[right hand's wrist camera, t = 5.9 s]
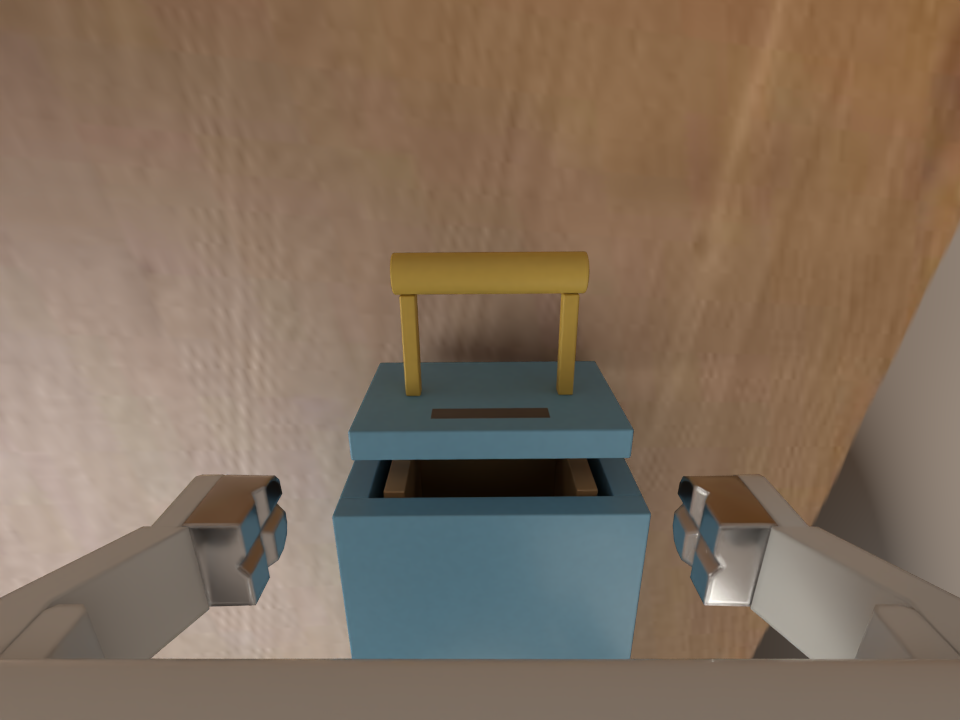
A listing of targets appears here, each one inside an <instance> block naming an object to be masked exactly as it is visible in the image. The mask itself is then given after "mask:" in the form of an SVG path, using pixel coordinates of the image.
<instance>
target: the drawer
mask: <svg viewBox="0 0 960 720" xmlns="http://www.w3.org/2000/svg"><path fill="white" fill-rule="evenodd" d="M390 279H391V287H392V291H393V293H394V294H395V295H400V297H399V299H400V314H401V329H402V345H403V360H404V363H380V365H379V367H378V369H377V371H376V374H375V376H374V378H373V380H372V382H371V384H370V387H369V389H368V391H367V393H366V395H365V397H364V400H363V402H362V404H361V406H360V408H359V410H358V412H357V415H356V417H355V419H354V421H353V423H352V425H351V428H350V430H349V432H348V435H349V443H350V452H351V459H352V460H392V464H391V467H390V471H389V474H388V478H387V482H386V485H385V489H384V498H445V497H562V496H597V494H598V490H597V487H596V484H595V481H594V478H593V476H592V473H591V470H590V467H589V464H588V462H587V459H586V458H630V456H631V449H632V440H633V432H634V430H633V428H632V426H631V424H630V422H629V421H628V419H627V417H626V415H625V414H624V412H623V410H622V408H621V407H620V405H619V403H618V401H617V400H616V398H615V396H614V394H613V393H612V391H611V389H610V387H609V386H608V384H607V382H606V380H605V378H604V377H603V375H602V373H601V371H600V370H599V368H598V366H597V364H596V363H595V362H594V361H575V354H576V339H577V324H578V310H579V294H578V293H585V292H586V290H587V287H588V281H589V260H588V255H587V253H586V252H454V253H393V254H392V256H391V261H390ZM543 293H561V310H560V328H559V347H558V362H432V363H420V345H419V326H418V307H417V294H543Z"/></svg>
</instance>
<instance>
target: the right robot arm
mask: <svg viewBox="0 0 960 720" xmlns="http://www.w3.org/2000/svg"><path fill="white" fill-rule="evenodd" d="M281 495H282V490H281V486H280V481H279V479H278V478H277V477H276V476H266V475H200V476H196V477H195V478H194V479H193V480H192V481H191V482H190V483H189V485H188V486H187V487H186V488H185V489H184V490H183V491H182V492H181V494H180V495H179V496H178V497H177V498H176V499H175V500H174V501H173V503H172V504H171V505H170V506H169V507H168V508H167V509H166V510H165V512H164V513H163V514H162V515H161V516H160V517H159V518H158V519H157V521H156V522H155V523H154V524H153V525H152V526H151V527H141V528H139V529H137V530H135V531H133V532H131V533H129V534H127V535H125V536H123V537H121V538H119V539H117V540H115V541H113V542H111V543H109V544H107V545H105V546H103V547H101V548H99V549H97V550H95V551H93V552H91V553H89V554H87V555H85V556H83V557H81V558H79V559H77V560H75V561H73V562H71V563H69V564H67V565H65V566H63V567H61V568H59V569H57V570H55V571H53V572H51V573H49V574H47V575H45V576H43V577H41V578H39V579H37V580H35V581H33V582H31V583H29V584H27V585H25V586H23V587H21V588H19V589H17V590H15V591H13V592H11V593H9V594H7V595H5V596H3V597H1V598H0V720H960V598H959V597H957V596H955V595H953V594H951V593H949V592H947V591H945V590H943V589H941V588H939V587H937V586H935V585H933V584H931V583H929V582H927V581H925V580H923V579H921V578H919V577H917V576H915V575H913V574H911V573H909V572H907V571H905V570H903V569H901V568H899V567H897V566H895V565H893V564H891V563H889V562H887V561H885V560H883V559H881V558H879V557H877V556H875V555H873V554H871V553H869V552H867V551H865V550H863V549H861V548H859V547H857V546H855V545H853V544H851V543H849V542H847V541H845V540H843V539H841V538H839V537H837V536H835V535H833V534H831V533H829V532H827V531H825V530H823V529H821V528H819V527H809V526H808V525H807V524H806V523H805V522H804V521H803V519H802V518H801V517H800V516H799V515H798V514H797V513H796V512H795V510H794V509H793V508H792V507H791V506H790V505H789V504H788V503H787V501H786V500H785V499H784V498H783V497H782V496H781V495H780V494H779V492H778V491H777V490H776V489H775V488H774V487H773V486H772V485H771V483H770V482H769V481H768V480H767V479H766V478H765V477H763V476H761V475H759V474H750V475H733V476H683V478H682V480H681V482H680V485H679V490H678V495H679V497H680V498H681V500H682V502H683V504H682V505H681V506H680V507H679V508H678V509H677V510H676V511H675V513H674V521H673V534H674V542H675V545H676V549H677V551H678V553H679V556H680V558H681V560H682V561H684V562H685V563H687V564H688V565H690V566H691V567H692V571H691V576H690V578H691V580H692V582H693V584H694V586H695V588H696V590H697V592H698V594H699V596H700V598H701V600H702V602H703V604H704V605H716V606H751V608H750V609H751V610H753V611H754V612H755V613H756V614H757V615H759V616H760V617H761V618H762V619H763V620H765V621H766V622H767V623H768V624H769V625H771V626H772V627H773V628H774V629H775V630H776V631H778V632H779V633H780V634H781V635H782V636H784V637H785V638H786V639H787V640H788V641H790V642H791V643H792V644H793V645H794V646H796V647H797V648H798V649H799V650H800V651H801V652H803V653H804V654H805V655H806V656H807V657H809V658H810V659H150V658H152V657H153V656H154V655H155V654H156V653H157V652H159V651H160V650H161V649H162V648H163V647H165V646H166V645H167V644H168V643H169V642H171V641H172V640H173V639H174V638H175V637H177V636H178V635H179V634H180V633H181V632H183V631H184V630H185V629H186V628H187V627H189V626H190V625H191V624H192V623H193V622H194V621H196V620H197V619H198V618H199V617H200V616H202V615H203V614H204V613H205V612H206V611H208V610H209V606H243V605H256V604H257V602H258V600H259V598H260V596H261V594H262V592H263V590H264V588H265V586H266V584H267V582H268V580H269V578H270V576H269V571H268V567H269V566H270V565H272V564H273V563H275V562H276V561H278V560H279V558H280V555H281V553H282V551H283V549H284V545H285V540H286V536H287V519H286V513H285V511H284V510H283V509H282V508H281V507H280V506H279V505H278V504H277V502H278V500H279V498H280V497H281Z"/></svg>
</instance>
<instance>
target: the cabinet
mask: <svg viewBox="0 0 960 720" xmlns="http://www.w3.org/2000/svg"><path fill="white" fill-rule="evenodd" d="M586 459H587V462H588V464H589V467H590V470H591V473H592V476H593V478H594V481H595V484H596V487H597V490H598V494H597V496H562V497H445V498H384V489H385V485H386V482H387V478H388V474H389V471H390V467H391V464H392V460H355V461H354V464H353V466H352V469H351V471H350V474H349V476H348V479H347V481H346V484H345V486H344V489H343V491H342V494H341V496H340V499H339V501H338V504H337V506H336V509H335V511H334V514H333V517H332V518H333V525H334V533H335V540H336V547H337V554H338V561H339V569H340V576H341V583H342V590H343V597H344V605H345V612H346V619H347V626H348V633H349V641H350V648H351V655H352V659H630V655H631V649H632V642H633V635H634V628H635V621H636V614H637V607H638V600H639V593H640V586H641V579H642V572H643V565H644V558H645V551H646V544H647V537H648V531H649V524H650V517H651V513H650V511H649V509H648V507H647V505H646V503H645V501H644V499H643V497H642V494H641V492H640V490H639V488H638V486H637V484H636V482H635V480H634V478H633V476H632V474H631V472H630V469H629V467H628V465H627V463H626V461H625V459H624V458H586Z"/></svg>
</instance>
